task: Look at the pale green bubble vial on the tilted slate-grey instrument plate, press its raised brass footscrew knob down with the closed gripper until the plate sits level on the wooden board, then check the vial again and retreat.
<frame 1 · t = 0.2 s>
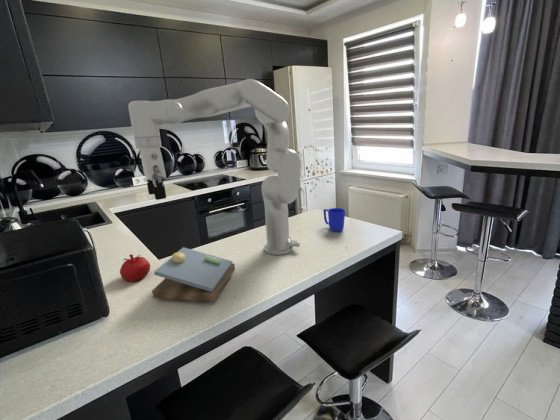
hand: (157, 196, 96), 31 cm above the kitchen counter, tool pointing down, fingers open, 9 cm apart
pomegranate: (136, 277, 107), on the kitchen counter
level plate: (196, 264, 96), point 8 cm above the kitchen counter, hinge at 15.0°
mug: (333, 229, 145), on the kitchen counter
wooden board: (197, 286, 99), on the kitchen counter
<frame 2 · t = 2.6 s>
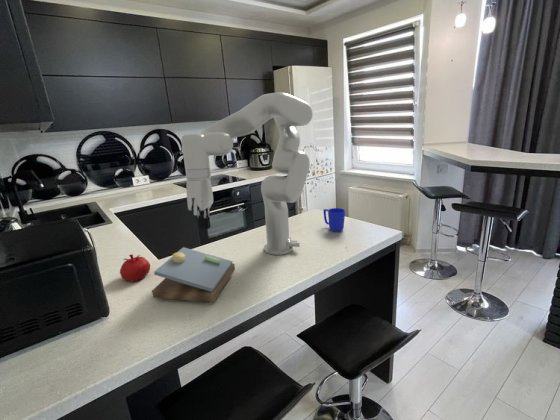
hand: (205, 228, 98), 19 cm above the kitchen counter, tool pointing down, fingers closed
nothing on the kitchen counter moved.
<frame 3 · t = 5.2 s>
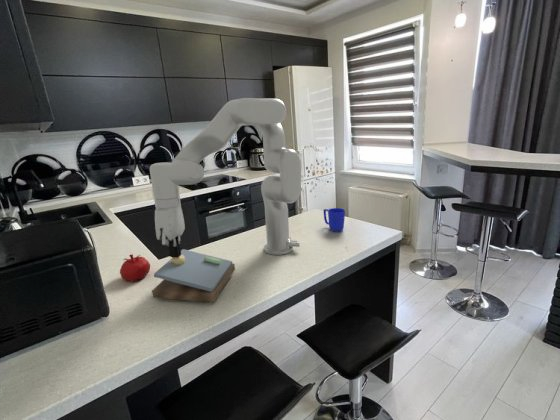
hand: (175, 256, 97), 11 cm above the kitchen counter, tool pointing down, fingers closed
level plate: (196, 265, 97), point 8 cm above the kitchen counter, hinge at 12.6°, touching gripper
everything else where it was.
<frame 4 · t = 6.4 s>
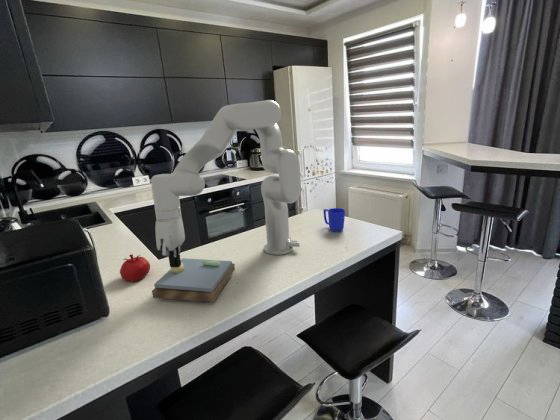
hand: (175, 266, 97), 8 cm above the kitchen counter, tool pointing down, fingers closed
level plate: (195, 270, 97), point 6 cm above the kitchen counter, hinge at 1.3°, touching gripper
everything else where it was.
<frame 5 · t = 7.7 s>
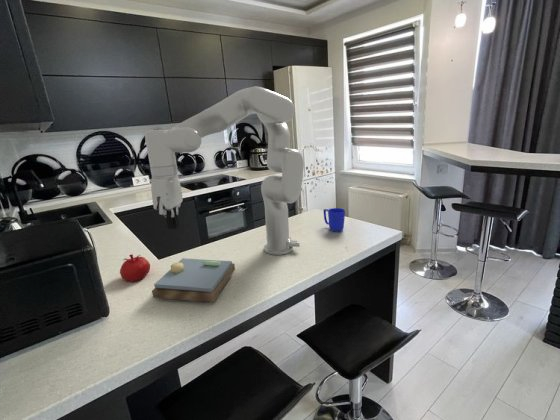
hand: (173, 227, 94), 21 cm above the kitchen counter, tool pointing down, fingers closed
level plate: (195, 270, 97), point 6 cm above the kitchen counter, hinge at 1.2°
everything else where it was.
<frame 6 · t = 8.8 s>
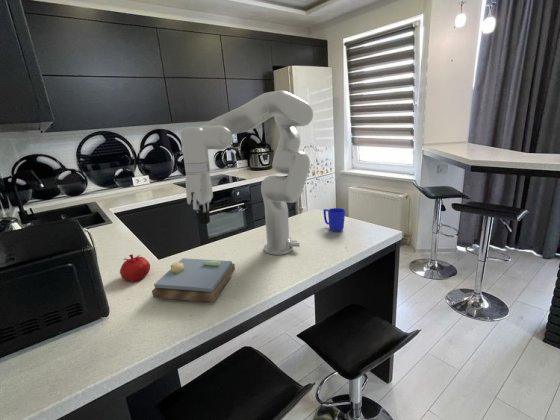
hand: (204, 222, 97), 21 cm above the kitchen counter, tool pointing down, fingers closed
nothing on the kitchen counter moved.
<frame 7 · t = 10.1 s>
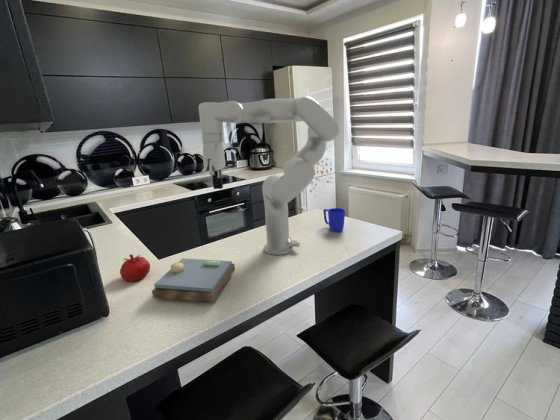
hand: (218, 188, 111), 29 cm above the kitchen counter, tool pointing down, fingers closed
nothing on the kitchen counter moved.
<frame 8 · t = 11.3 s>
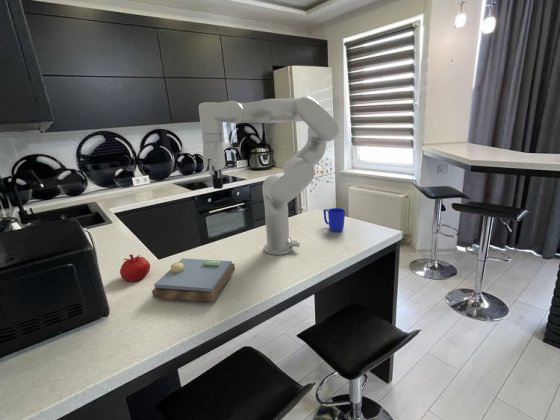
hand: (218, 188, 111), 29 cm above the kitchen counter, tool pointing down, fingers closed
nothing on the kitchen counter moved.
at the end: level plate at +1° (first picture: +15°) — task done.
